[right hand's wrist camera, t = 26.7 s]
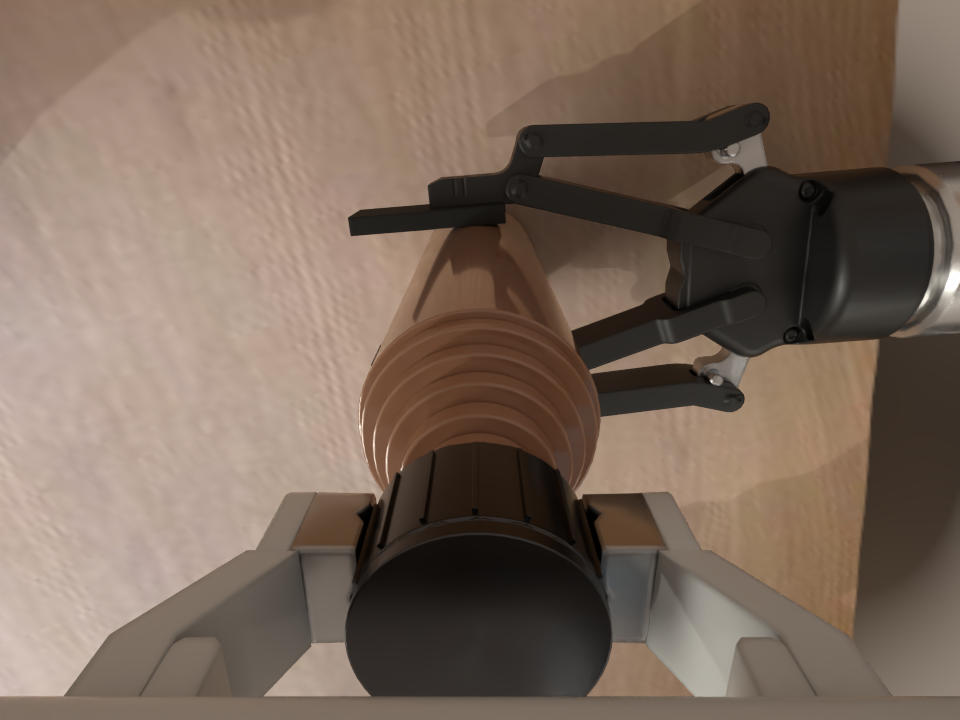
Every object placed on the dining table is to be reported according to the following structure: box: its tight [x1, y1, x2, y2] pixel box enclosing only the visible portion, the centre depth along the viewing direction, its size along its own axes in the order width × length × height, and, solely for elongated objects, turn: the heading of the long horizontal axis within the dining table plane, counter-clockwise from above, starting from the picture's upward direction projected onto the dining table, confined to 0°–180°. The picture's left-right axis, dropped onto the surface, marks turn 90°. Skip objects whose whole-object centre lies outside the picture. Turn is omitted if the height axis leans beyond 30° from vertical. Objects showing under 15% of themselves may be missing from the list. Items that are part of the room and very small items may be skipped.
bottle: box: [358, 212, 601, 493], centre depth 21 cm, size 6×6×25 cm
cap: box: [345, 442, 613, 697], centre depth 9 cm, size 4×4×2 cm
